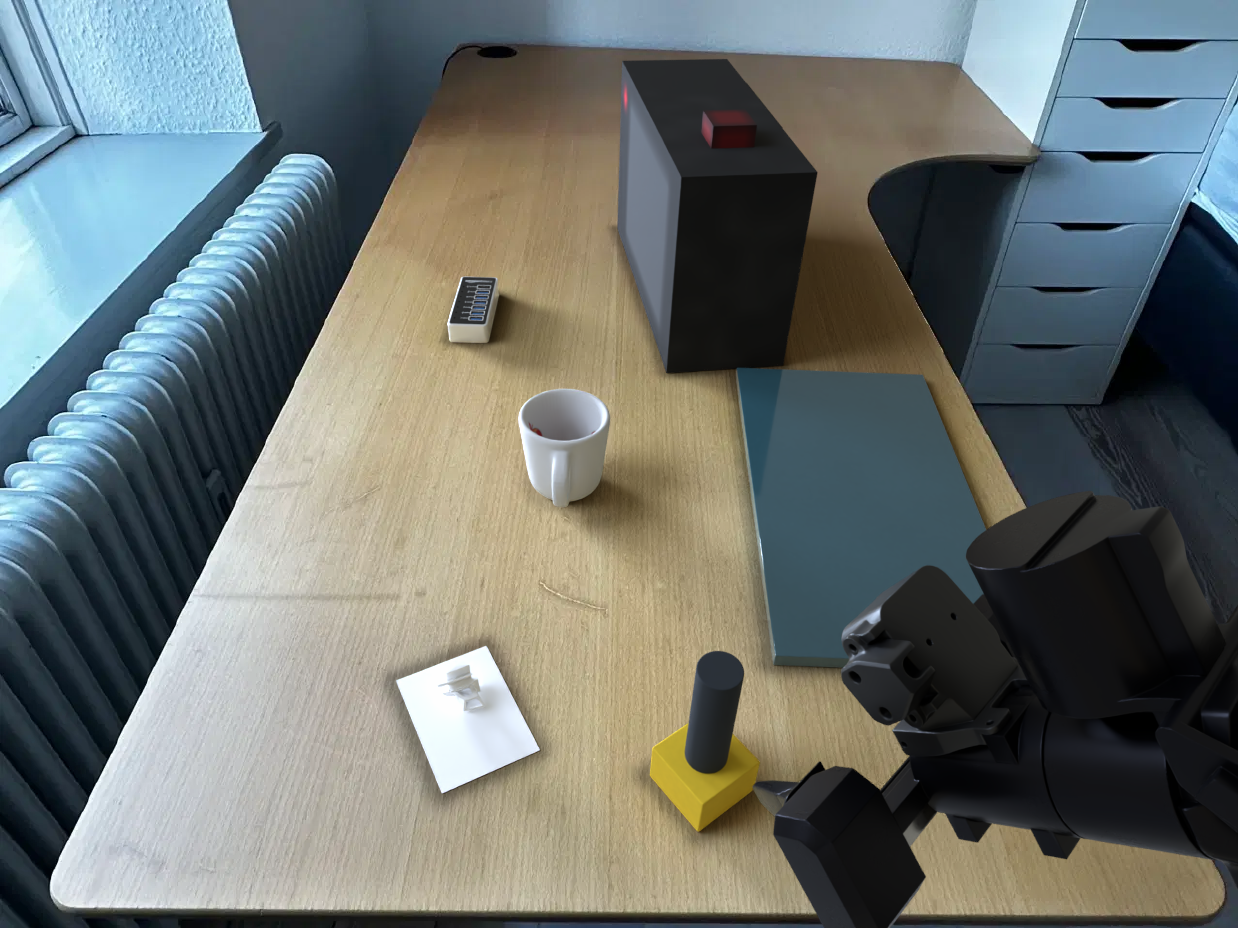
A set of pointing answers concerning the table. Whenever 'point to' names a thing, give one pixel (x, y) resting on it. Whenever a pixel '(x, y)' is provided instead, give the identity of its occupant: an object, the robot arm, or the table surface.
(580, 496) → the cup
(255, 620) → the table surface
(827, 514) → the plate
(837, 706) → the table surface
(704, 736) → the sponge wand
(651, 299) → the speaker
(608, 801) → the table surface
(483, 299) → the multiport hub
